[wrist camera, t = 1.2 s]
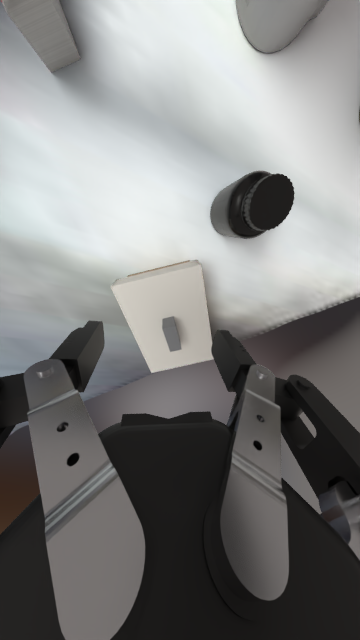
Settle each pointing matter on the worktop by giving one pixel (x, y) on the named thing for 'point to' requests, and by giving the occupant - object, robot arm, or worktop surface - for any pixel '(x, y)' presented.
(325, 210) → the worktop surface
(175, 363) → the mailer lid
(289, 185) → the supplement bottle
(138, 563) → the robot arm
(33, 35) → the printed product carton
